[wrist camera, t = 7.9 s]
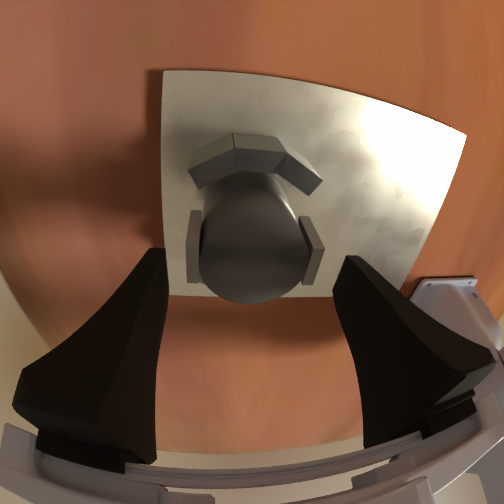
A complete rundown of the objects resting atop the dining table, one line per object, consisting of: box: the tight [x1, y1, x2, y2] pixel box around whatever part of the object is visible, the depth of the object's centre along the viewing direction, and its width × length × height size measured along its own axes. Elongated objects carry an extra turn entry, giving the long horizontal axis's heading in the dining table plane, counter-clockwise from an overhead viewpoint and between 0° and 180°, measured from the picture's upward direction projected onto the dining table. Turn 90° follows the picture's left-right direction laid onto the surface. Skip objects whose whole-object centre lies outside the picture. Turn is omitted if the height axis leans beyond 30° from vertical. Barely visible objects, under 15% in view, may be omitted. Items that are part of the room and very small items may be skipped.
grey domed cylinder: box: [185, 171, 325, 304], centre depth 13 cm, size 5×4×5 cm
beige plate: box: [161, 70, 466, 297], centre depth 15 cm, size 18×14×4 cm
